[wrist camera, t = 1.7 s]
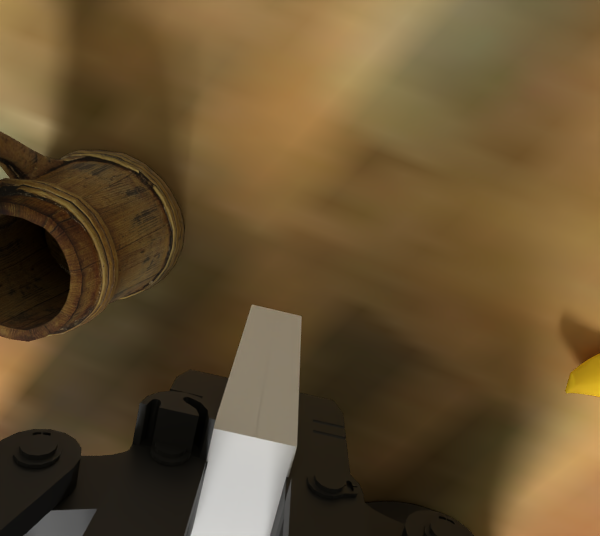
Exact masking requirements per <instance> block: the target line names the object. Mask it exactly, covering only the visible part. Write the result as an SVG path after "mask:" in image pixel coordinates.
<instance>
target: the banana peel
mask: <svg viewBox="0 0 600 536" xmlns="http://www.w3.org/2000/svg"><path fill="white" fill-rule="evenodd" d="M565 391H566V393H578V394H586V395H592V396H597V397H600V353H599V354H597V355H595V356H593V357H592V358H590V359H588V360H587V361H585V362H584V363H582V364H581V365H579V366H578V367H577V368H576V369H575V370H573V371H572V372H571V373H570V376H569V379H568V383H567V386H566V390H565Z"/></svg>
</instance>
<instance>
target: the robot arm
mask: <svg viewBox="0 0 600 536" xmlns="http://www.w3.org/2000/svg"><path fill="white" fill-rule="evenodd" d="M301 319H302V316H299V315H295V314H291V313H286V312H282V311H278V310H274V309H269V308H265V307H261V306H256V305H252V306H251V309H250V312H249V315H248V318H247V321H246V325H245V328H244V331H243V334H242V337H241V341H240V344H239V347H238V350H237V353H236V356H235V360H234V363H233V366H232V369H231V372H230V376H229V378H226V377H221V376H217V375H212V374H208V373H204V372H199V371H195V370H188V371H187V372H185V373H183V374H182V375H180V376H178V377H176V379H175V381H174V383H173V385H172V387H171V389H170V391H167V392H158V393H155V394H152V395H150V396H147V397H146V398H145V399H144V400H143V401H142V402H141V403H140V406H139V411H138V417H137V422H136V427H135V433H134V438H133V444H132V446H131V448H130V450H128V451H126V452H123V453H119V454H114V455H105V456H81V447H80V445H79V444H78V442H77V441H76V439H74V438H72V437H71V436H69V435H67V434H66V433H63V432H59V431H55V430H51V429H33V430H28V431H23V432H18V433H16V434H13V435H11V436H9V437H7V438H5V439H3V440H1V441H0V536H474V535H473V534H472V533H471V532H470V531H469V529H468V528H466V527H465V526H464V525H462V524H461V523H459V522H458V521H457V520H455V519H454V518H451V517H449V516H447V515H445V514H442V513H440V512H435V511H432V510H430V509H427V508H424V507H421V506H417V505H413V504H408V503H401V502H372V503H365V502H364V495H363V492H362V490H361V487H360V485H359V483H358V482H357V481H356V480H355V479H354V478H353V477H352V476H351V475H350V469H349V460H348V452H347V443H346V440H345V438H346V435H345V429H344V418H343V413H342V412H341V410H340V409H339V407H338V406H337V405H336V403H335V402H334V401H333V400H330V399H325V398H321V397H316V396H312V395H308V394H303V393H299V376H300V348H301Z"/></svg>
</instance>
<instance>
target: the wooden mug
mask: <svg viewBox="0 0 600 536" xmlns="http://www.w3.org/2000/svg"><path fill="white" fill-rule="evenodd" d="M0 166H1V167H2V168H3V170H4V171H5V172H6V174H7V175H8V176H9V178H4V179H1V180H0V336H2V337H5V338H8V339H14V340H21V341H32V340H35V339H39V338H43V337H46V336H51V335H57V334H64V333H66V332H68V331H71V330H73V329H75V328H77V327H79V326H81V325H83V324H85V323H88V322H89V321H91V320H92V319H93V318H95V317H96V316H97V315H98V314H100V313H101V312H102V311H103V310H105V308H106V307H107V305H108V304H110V303H112V302H114V301H116V300H119V299H124V298H128V297H130V296H132V295H135V294H137V293H140V292H142V291H144V290H147V289H149V288H151V287H152V286H154V285H155V284H156V283H158V282H159V281H161V280H162V279H163V278H165V277H166V275H167V274H168V273H169V272H170V270H171V269H172V268H173V267H174V265H175V264H176V262H177V260H178V257H179V254H180V252H181V249H182V247H183V239H184V229H185V227H184V223H183V219H182V215H181V210H180V208H179V206H178V204H177V202H176V200H175V198H174V196H173V194H172V192H171V190H170V189H169V188H168V187H167V185H166V184H165V183H164V181H163V180H162V179H161V178H160V177H159V176H158V175H157V174H156V173H155V172H154V171H153V170H151V169H150V168H149V167H148V166H147V165H146V164H145V163H143V162H141V161H139V160H137V159H135V158H133V157H131V156H129V155H127V154H125V153H119V152H111V151H104V150H79V151H76V152H72V153H68V154H67V155H65V156H64V157H62V158H60V159H59V160H58V159H52V158H47V157H45V156H43V155H41V154H39V153H37V152H35V151H33V150H32V149H30V148H28V147H26V146H25V145H23V144H21V143H20V142H18V141H16V140H15V139H13V138H11V137H10V136H8V135H6V134H4V133H2V132H0Z"/></svg>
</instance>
